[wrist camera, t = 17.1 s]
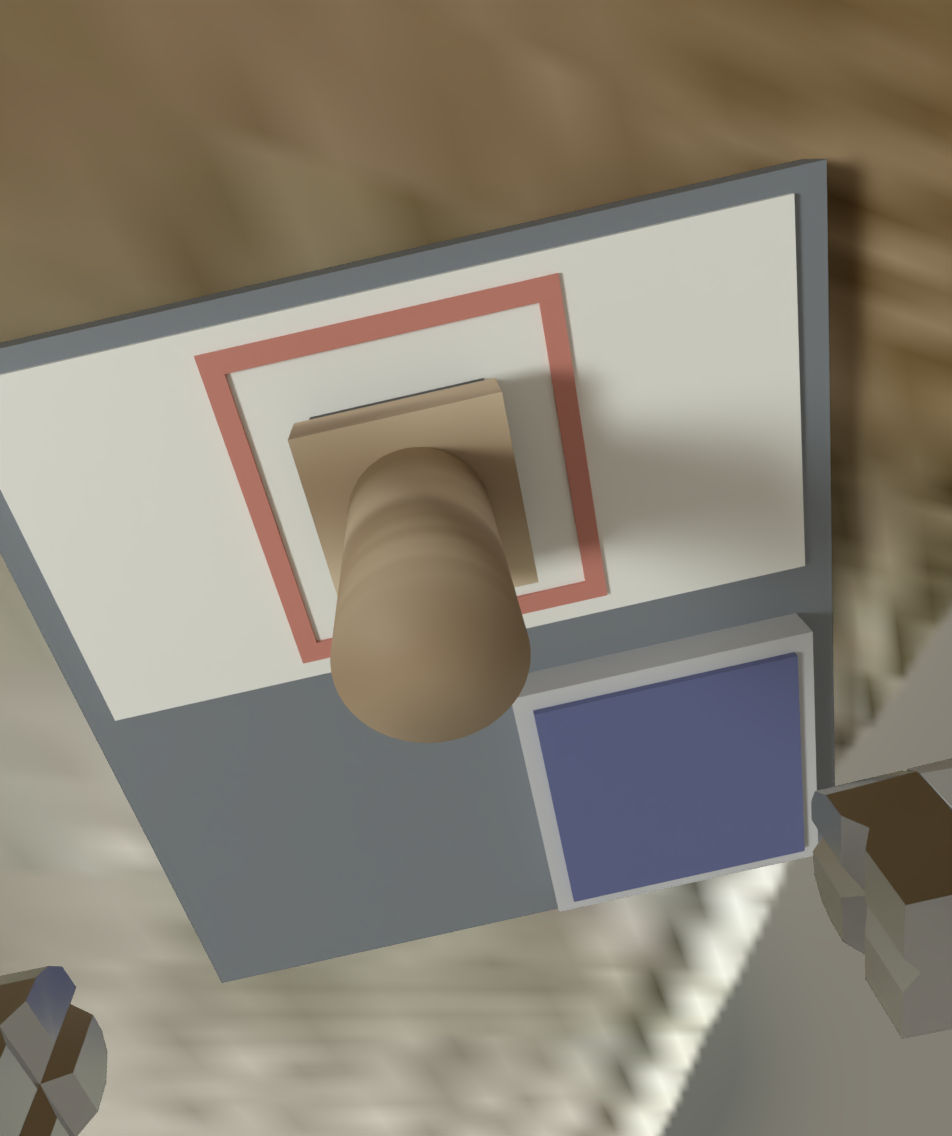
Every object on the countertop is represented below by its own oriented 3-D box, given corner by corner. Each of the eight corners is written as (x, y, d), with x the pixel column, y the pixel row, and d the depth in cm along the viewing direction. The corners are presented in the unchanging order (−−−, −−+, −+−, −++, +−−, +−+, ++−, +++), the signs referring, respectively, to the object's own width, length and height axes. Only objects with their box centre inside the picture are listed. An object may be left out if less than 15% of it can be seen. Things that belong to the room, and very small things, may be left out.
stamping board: (818, 820, 28) (853, 875, 25) (228, 950, 28) (214, 1017, 26) (801, 159, 19) (854, 159, 17) (-67, 357, 19) (-126, 383, 17)
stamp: (524, 542, 21) (595, 744, 13) (351, 580, 21) (329, 803, 14) (490, 366, 19) (552, 495, 12) (298, 410, 19) (240, 565, 12)
